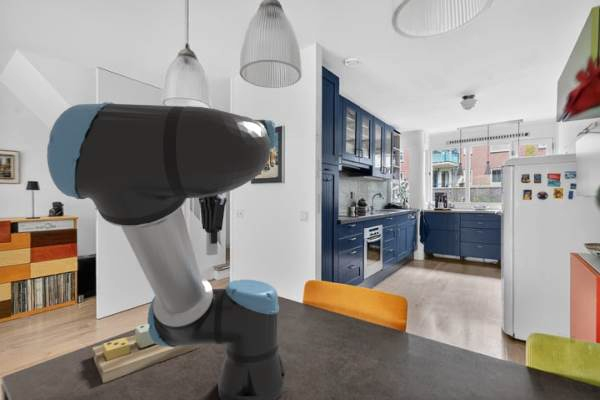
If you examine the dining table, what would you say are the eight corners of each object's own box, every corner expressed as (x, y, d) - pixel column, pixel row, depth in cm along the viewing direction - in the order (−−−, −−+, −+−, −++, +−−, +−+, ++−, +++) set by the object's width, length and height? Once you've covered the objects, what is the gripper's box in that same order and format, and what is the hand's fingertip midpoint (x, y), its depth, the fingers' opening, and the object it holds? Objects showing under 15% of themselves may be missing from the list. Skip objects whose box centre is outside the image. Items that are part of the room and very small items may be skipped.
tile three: (129, 359, 74) (129, 343, 74) (106, 367, 71) (106, 350, 71) (125, 351, 78) (125, 336, 78) (103, 358, 74) (103, 343, 74)
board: (199, 347, 82) (199, 338, 82) (103, 383, 66) (103, 372, 66) (179, 329, 93) (179, 322, 93) (92, 356, 77) (92, 347, 77)
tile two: (160, 341, 79) (160, 326, 79) (140, 347, 76) (140, 332, 76) (154, 335, 83) (154, 321, 83) (135, 341, 80) (135, 326, 80)
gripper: (235, 173, 82) (234, 255, 82) (213, 175, 91) (213, 249, 91) (210, 171, 76) (210, 259, 77) (190, 174, 86) (190, 252, 86)
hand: (211, 254), depth 84 cm, fingers closed
